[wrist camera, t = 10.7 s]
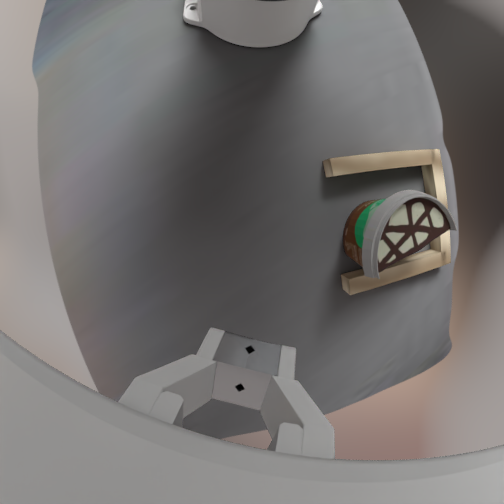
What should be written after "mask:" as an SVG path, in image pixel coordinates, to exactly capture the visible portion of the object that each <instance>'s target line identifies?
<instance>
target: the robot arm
mask: <svg viewBox="0 0 504 504" xmlns="http://www.w3.org/2000/svg"><path fill="white" fill-rule="evenodd" d="M322 7H323V6H322V4H321V2H320V1H319V0H185V5H184V12H183V19H184V21H185V22H186V23H188V24H192V25H196V26H200V27H204V28H206V29H207V30H209V31H210V32H212V33H213V34H214V35H216V36H217V37H219V38H221V39H223V40H225V41H228V42H230V43H233V44H237V45H241V46H247V47H271V46H277V45H281V44H284V43H287V42H289V41H291V40H293V39H295V38H296V37H297V36H299V35H300V34H301V33H302V32H303V30H304V29H305V27H306V25H307V23H308V21H309V20H310V19H311V18H313V17H314V16H316V15H318V14H319V13H320V12H321V10H322ZM192 9H195V10H192ZM295 362H296V348H295V347H290V346H284V345H277V344H273V343H268V342H264V341H260V340H256V339H252V338H249V337H245V336H241V335H238V334H234V333H231V332H227V331H223V330H220V329H216V328H213V327H211V328H210V329H209V331H208V333H207V335H206V336H205V338H204V340H203V342H202V344H201V346H200V348H199V350H198V352H197V354H196V355H193V354H191V355H188V356H186V357H184V358H181V359H179V360H177V361H174V362H172V363H170V364H167V365H165V366H162V367H160V368H157V369H155V370H153V371H150V372H148V373H145V374H142V375H140V376H137V377H135V378H134V380H133V381H132V383H131V384H130V385H129V387H128V388H127V390H126V391H125V393H124V394H123V396H122V397H121V398H120V400H119V401H118V402H117V401H114V400H112V399H110V398H108V397H106V396H104V395H102V394H100V393H98V392H96V391H94V390H92V389H90V388H88V387H86V386H85V385H83V384H81V383H79V382H77V381H75V380H74V379H72V378H70V377H68V376H67V375H65V374H64V373H62V372H60V371H58V370H57V369H55V368H54V367H52V366H50V365H49V364H47V363H46V362H44V361H43V360H41V359H40V358H38V357H37V356H35V355H34V354H32V353H31V352H29V351H28V350H26V349H25V348H24V347H22V346H21V345H19V344H18V343H17V342H15V341H14V340H13V339H11V338H10V337H9V336H7V335H6V334H5V333H4V332H2V331H1V330H0V504H504V445H500V446H496V447H492V448H488V449H484V450H479V451H474V452H469V453H463V454H457V455H450V456H442V457H434V458H423V459H410V460H377V461H376V460H374V461H373V460H345V459H335V442H334V441H335V438H334V428H333V427H332V425H331V424H330V423H329V421H328V420H327V419H326V417H325V416H324V415H323V413H322V412H321V411H320V409H319V408H318V407H317V405H316V404H315V403H314V401H313V400H312V399H311V397H310V396H309V395H308V393H307V392H306V391H305V389H304V388H303V386H302V385H301V384H300V382H299V381H297V380H294V376H295ZM211 398H213V399H217V400H221V401H225V402H229V403H233V404H237V405H241V406H244V407H248V408H252V409H256V410H260V413H261V416H262V418H263V420H264V422H265V425H266V427H267V429H268V431H269V433H270V435H271V438H272V441H271V443H270V445H269V447H268V449H267V450H265V449H259V448H255V447H250V446H245V445H241V444H237V443H233V442H229V441H225V440H221V439H217V438H214V437H210V436H207V435H203V434H200V433H197V432H194V431H191V430H187V429H184V428H183V418H184V417H186V416H187V415H189V414H190V413H192V412H193V411H195V410H196V409H198V408H199V407H201V406H202V405H204V404H205V403H207V402H208V401H209V400H211Z"/></svg>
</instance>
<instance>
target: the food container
mask: <svg viewBox="0 0 504 504" xmlns="http://www.w3.org/2000/svg"><path fill="white" fill-rule="evenodd" d="M448 230H457V228H456V224H455V222H454V219H453V217H452V215H451V213H450V212H449V210H448V209H447V208H446V207H445V205H443V204H442V203H441V202H440V201H439V200H437V199H436V198H434V197H433V196H431V195H428V194H426V193H423V192H420V191H416V190H405V191H400V192H398V193H395V194H393V195H391V196H390V197H388V198H387V199H380V200H372V201H367V202H364V203H362V204H360V205H359V206H357V207H356V208H355V209H354V210H353V211H352V213H351V214H350V216H349V217H348V219H347V222H346V224H345V228H344V234H343V244H344V250H345V253H346V255H347V256H349V257H350V258H351V259H353V260H354V261H355V262H357V263H358V264H359V265H361V266H362V267H363V270H364V275H365V276H367V277H370V278H375V277H376V278H378V279H380V277H379V272H382V271H383V270H385V269H386V268H388V267H389V266H391V265H393V264H394V263H396V262H398V261H400V260H402V259H404V258H406V257H408V256H410V255H412V254H414V253H415V252H417V251H419V250H421V249H422V248H423V247H425V246H426V245H427V244H429V243H430V242H431V241H433V240H434V239H436V238H437V237H439V236H440V235H442V234H443V233H445V232H446V231H448Z"/></svg>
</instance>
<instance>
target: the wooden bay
mask: <svg viewBox="0 0 504 504" xmlns="http://www.w3.org/2000/svg"><path fill="white" fill-rule="evenodd" d="M323 165H324V170H325V175H326V177H333V176H339V175H346V174H353V173H361V172H368V171H376V170H384V169H393V168H402V167H412V166H421V168H422V174H423V180H424V187H425V193H426V194H428V195H431V196H433V197H434V198H436V199H437V200H439V201H440V202H441V203H442V204H443V205H445V207H446V208H447V209H448V206H447V196H446V188H445V181H444V174H443V168H442V162H441V157H440V151H439V149H429V150H411V151H397V152H384V153H373V154H363V155H354V156H345V157H337V158H330V159H327V160H324V161H323ZM449 263H451V256H450V230H448V231H446V232H445V233H443V234H442V235H440V236H439V237H437V238H436V239H434V240H433V241H431V242H430V250H426V251H423V252H420V253H416V254H413V255H410V256H408V257H406V258H404V259H402V260H400V261H398V262H396V263H394V264H393V265H391V266H389V267H388V268H386V269H385V270H383V271H382V272H379V277H380V279H378V278H376V277H375V278H370V277H367V276H365V275H364V270H363V269H359V270H355V271H352V272H348V273H344V274H341V280H342V289H343V290H344V291H346V292H347V293H348V294H349V295H353V294H357V293H360V292H363V291H367V290H370V289H373V288H377V287H380V286H383V285H386V284H390V283H393V282H396V281H399V280H402V279H405V278H408V277H411V276H414V275H417V274H420V273H423V272H426V271H429V270H432V269H435V268H438V267H441V266H443V265H446V264H449Z"/></svg>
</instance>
